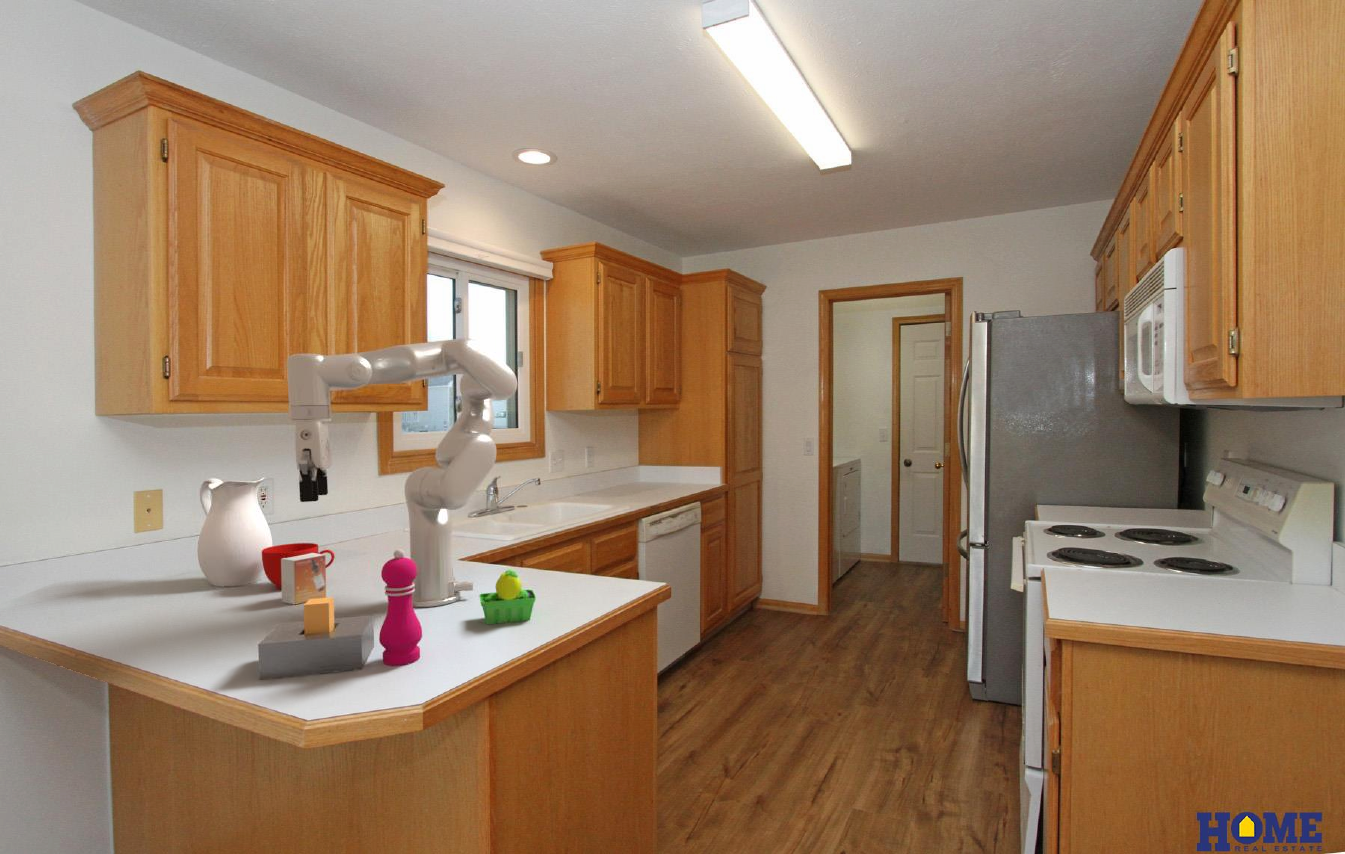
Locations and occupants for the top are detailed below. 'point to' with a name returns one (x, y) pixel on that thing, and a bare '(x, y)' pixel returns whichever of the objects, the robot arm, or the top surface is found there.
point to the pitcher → (232, 533)
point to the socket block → (316, 648)
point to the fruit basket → (507, 600)
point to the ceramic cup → (276, 553)
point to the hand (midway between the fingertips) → (314, 498)
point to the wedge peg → (319, 615)
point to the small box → (303, 578)
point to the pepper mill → (400, 612)
